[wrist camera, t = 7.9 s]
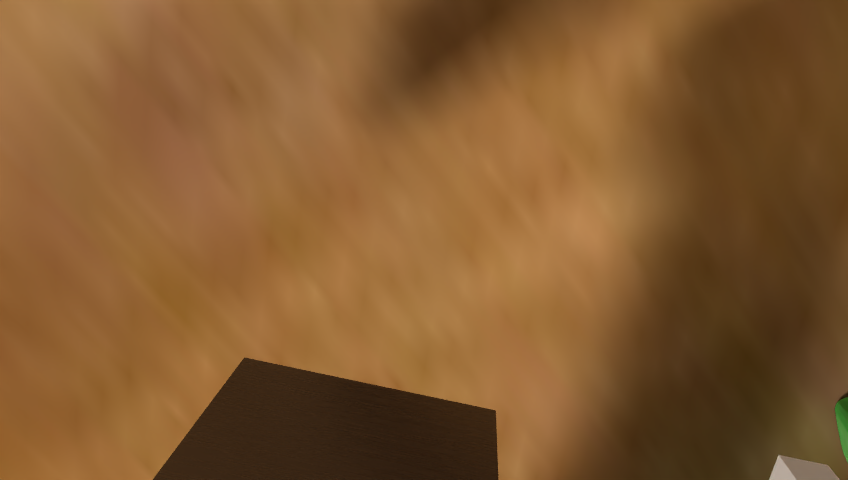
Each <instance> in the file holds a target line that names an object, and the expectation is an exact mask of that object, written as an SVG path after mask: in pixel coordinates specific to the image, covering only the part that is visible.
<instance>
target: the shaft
mask: <svg viewBox="0 0 848 480" xmlns="http://www.w3.org/2000/svg"><path fill="white" fill-rule="evenodd" d="M153 480H498V459H497V432H496V411H495V410H491V409H486V408H481V407H477V406H472V405H467V404H462V403H458V402H453V401H448V400H443V399H439V398H434V397H429V396H424V395H420V394H415V393H410V392H405V391H401V390H396V389H391V388H386V387H382V386H377V385H372V384H367V383H363V382H358V381H353V380H348V379H344V378H339V377H334V376H330V375H325V374H320V373H315V372H311V371H306V370H301V369H296V368H292V367H287V366H282V365H277V364H273V363H268V362H263V361H258V360H254V359H249V358H244V359H243V360H242V361H241V363H240V364H239V365H238V367H237V368H236V369H235V371H234V372H233V373H232V375H231V376H230V377H229V379H228V380H227V381H226V383H225V384H224V385H223V387H222V388H221V389H220V391H219V392H218V393H217V395H216V396H215V397H214V399H213V400H212V401H211V403H210V404H209V405H208V407H207V408H206V409H205V411H204V412H203V413H202V415H201V416H200V417H199V419H198V420H197V421H196V423H195V424H194V425H193V427H192V428H191V429H190V431H189V432H188V433H187V435H186V436H185V437H184V439H183V440H182V441H181V443H180V444H179V445H178V447H177V448H176V449H175V451H174V452H173V453H172V455H171V456H170V457H169V459H168V460H167V461H166V463H165V464H164V465H163V467H162V468H161V469H160V471H159V472H158V473H157V475H156V476H155V477H154V479H153Z"/></svg>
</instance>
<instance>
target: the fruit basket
mask: <svg viewBox="0 0 848 480" xmlns="http://www.w3.org/2000/svg"><path fill="white" fill-rule="evenodd" d="M835 413H836V420H837V425H838V431H839V436H840V441H841V445H842V450H843V453H844V455H845V458H846V460H847V462H848V397H846V398H843V399H841V400H839V401H838V402H837V404H836V406H835Z"/></svg>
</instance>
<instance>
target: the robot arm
mask: <svg viewBox="0 0 848 480" xmlns="http://www.w3.org/2000/svg"><path fill="white" fill-rule="evenodd" d="M769 480H840V479H839V478H838V477H837V476H836V474H835V473H834V472H833V471H832V469H831V468H830V467H829V466H828V465H825V464H820V463H816V462H811V461H806V460H801V459H796V458H791V457H786V456H782V455H778V458H777V460H776V463H775V465H774V468H773V471H772V473H771V476H770V479H769Z"/></svg>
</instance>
